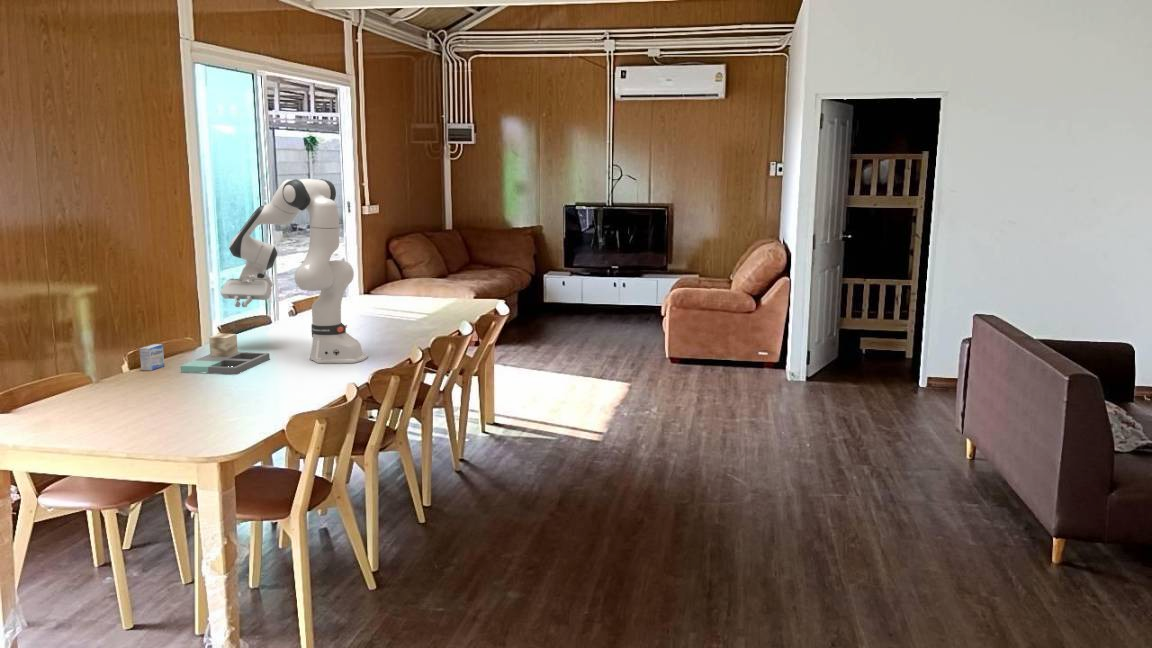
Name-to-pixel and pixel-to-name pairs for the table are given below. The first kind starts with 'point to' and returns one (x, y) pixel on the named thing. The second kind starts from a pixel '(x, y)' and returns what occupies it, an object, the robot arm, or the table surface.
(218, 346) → the birch block
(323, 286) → the robot arm
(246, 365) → the tray
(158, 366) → the medicine box
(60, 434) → the table surface
